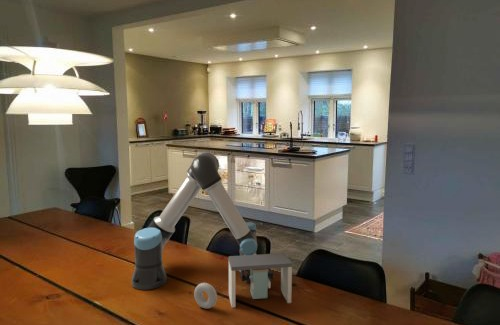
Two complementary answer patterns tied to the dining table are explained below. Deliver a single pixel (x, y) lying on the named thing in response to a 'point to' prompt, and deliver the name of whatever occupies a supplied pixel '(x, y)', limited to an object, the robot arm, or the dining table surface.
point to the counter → (283, 284)
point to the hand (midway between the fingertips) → (261, 285)
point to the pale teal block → (259, 283)
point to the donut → (210, 292)
